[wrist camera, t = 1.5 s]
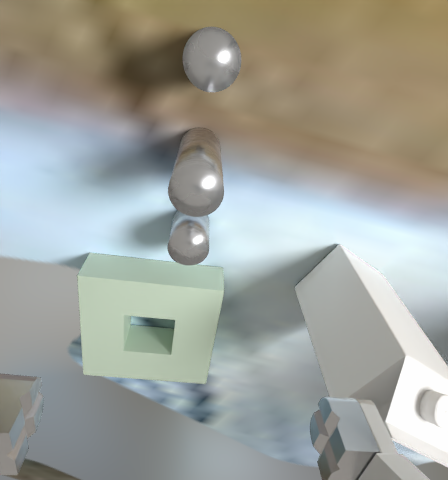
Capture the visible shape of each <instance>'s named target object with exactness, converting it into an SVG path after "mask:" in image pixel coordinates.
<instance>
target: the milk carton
mask: <svg viewBox="0 0 448 480" xmlns="http://www.w3.org/2000/svg"><path fill="white" fill-rule="evenodd" d="M294 288H295V291H296V294H297V298H298V301H299V304H300V307H301V310H302V313H303V316H304V319H305V322H306V326H307V329H308V332H309V335H310V338H311V341H312V344H313V347H314V350H315V354H316V357H317V360H318V363H319V366H320V369H321V372H322V375H323V378H324V381H325V385H326V388H327V391H328V394H329V397H337V398H353V399H364V400H371V401H372V402H373V403H374V404H375V406H376V408H377V410H378V412H379V414H380V416H381V418H382V420H383V423H384V425H385V427H386V429H387V431H388V433H389V435H390V437H391V439H392V440H393V441H395V442H397V443H399V444H401V445H403V446H405V447H407V448H409V449H412V450H414V451H416V452H418V453H420V454H422V455H424V456H426V457H428V458H430V459H432V460H434V461H436V462H438V463H440V464H442V465H444V466H446V467H448V366H447V364H446V363H445V362H444V360H443V359H442V357H441V356H440V355H439V353H438V352H437V350H436V349H435V347H434V346H433V345H432V343H431V342H430V340H429V339H428V337H427V336H426V335H425V333H424V332H423V330H422V329H421V328H420V326H419V325H418V323H417V322H416V320H415V319H414V318H413V316H412V315H411V313H410V312H409V311H408V309H407V308H406V306H405V305H404V303H403V302H402V301H401V299H400V298H399V296H398V295H397V293H396V292H395V291H394V289H393V288H392V286H391V285H390V284H389V282H388V281H387V279H386V278H385V276H384V275H383V274H382V273H380V272H379V271H378V270H376V269H375V268H373V267H372V266H371V265H369V264H368V263H366V262H365V261H364V260H362V259H361V258H359V257H358V256H357V255H355V254H354V253H352V252H351V251H350V250H348V249H347V248H345V247H344V246H343V245H341V244H339V245H338V246H337V247H336V248H335V249H334V250H333V251H332V252H330V253H329V254H328V255H327V256H326V257H325V258H324V259H323V260H322V261H321V262H320V263H319V264H318V265H317V266H316V267H315V268H314V269H313V270H312V271H311V272H310V273H309V274H308V275H307V276H306V277H305V278H303V279H302V280H301V281H300V282H299V283H298V284H297V285H296V286H295V287H294Z"/></svg>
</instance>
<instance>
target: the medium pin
mask: <svg viewBox="0 0 448 480" xmlns="http://www.w3.org/2000/svg"><path fill="white" fill-rule="evenodd" d="M183 66H184V70H185V73H186V75H187V77H188V79H189V80H190V81H191V83H192V84H194V85H195V86H196V87H197V88H199V89H201V90H203V91H207V92H218V91H222V90H224V89H226V88H227V87H229V86H230V85H231V84H232V83H233V82H234V81H235V79H236V78H237V76H238V74H239V71H240V67H241V53H240V49H239V46H238V44H237V42H236V41H235V39H234V38H233V37H232V36H231V35H230V34H229V33H228V32H227V31H225V30H223V29H221V28H217V27H206V28H202V29H200V30H198V31H196V32H195V33H194V34H193V35H192V36H191V37H190V38H189V40H188V41H187V43H186V45H185V48H184V51H183Z"/></svg>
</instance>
